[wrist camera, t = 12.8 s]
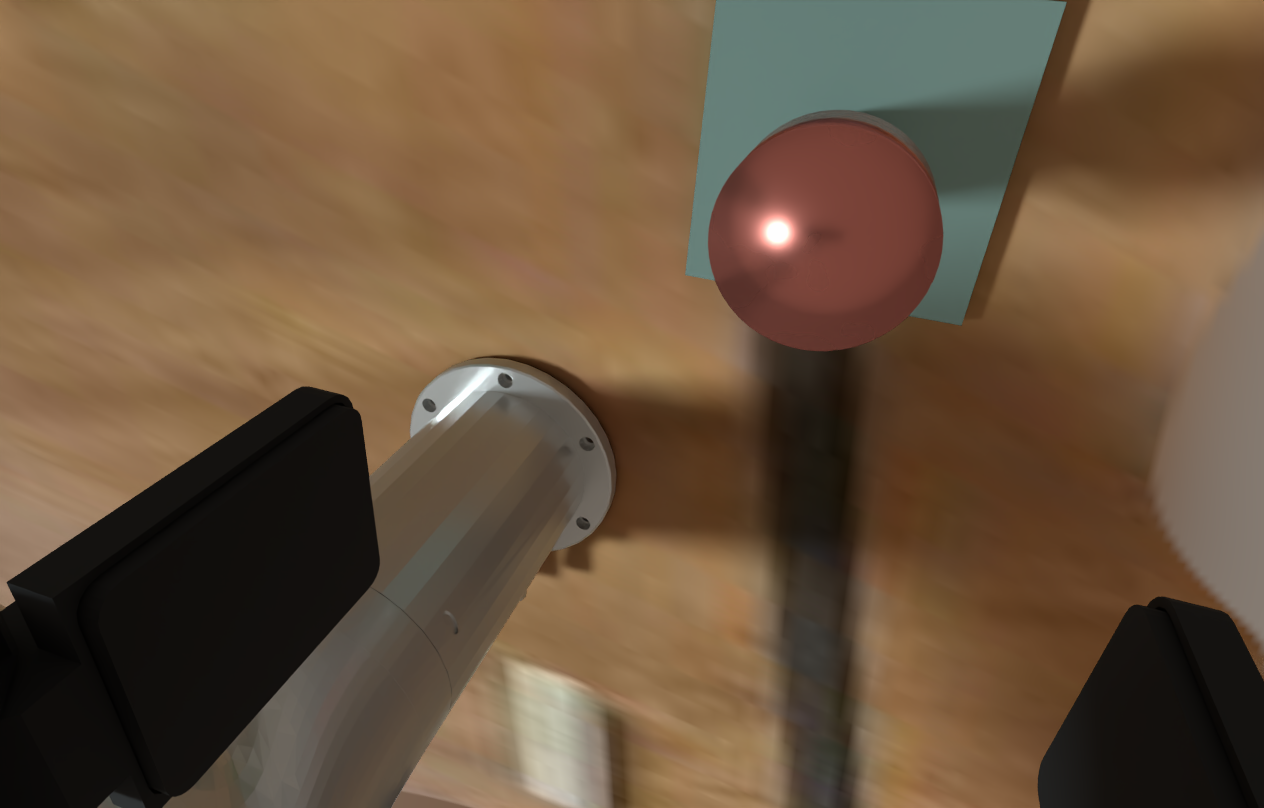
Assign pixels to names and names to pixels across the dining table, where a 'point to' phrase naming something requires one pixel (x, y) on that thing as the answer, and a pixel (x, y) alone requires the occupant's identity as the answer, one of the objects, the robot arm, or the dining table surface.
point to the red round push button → (827, 231)
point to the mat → (883, 101)
